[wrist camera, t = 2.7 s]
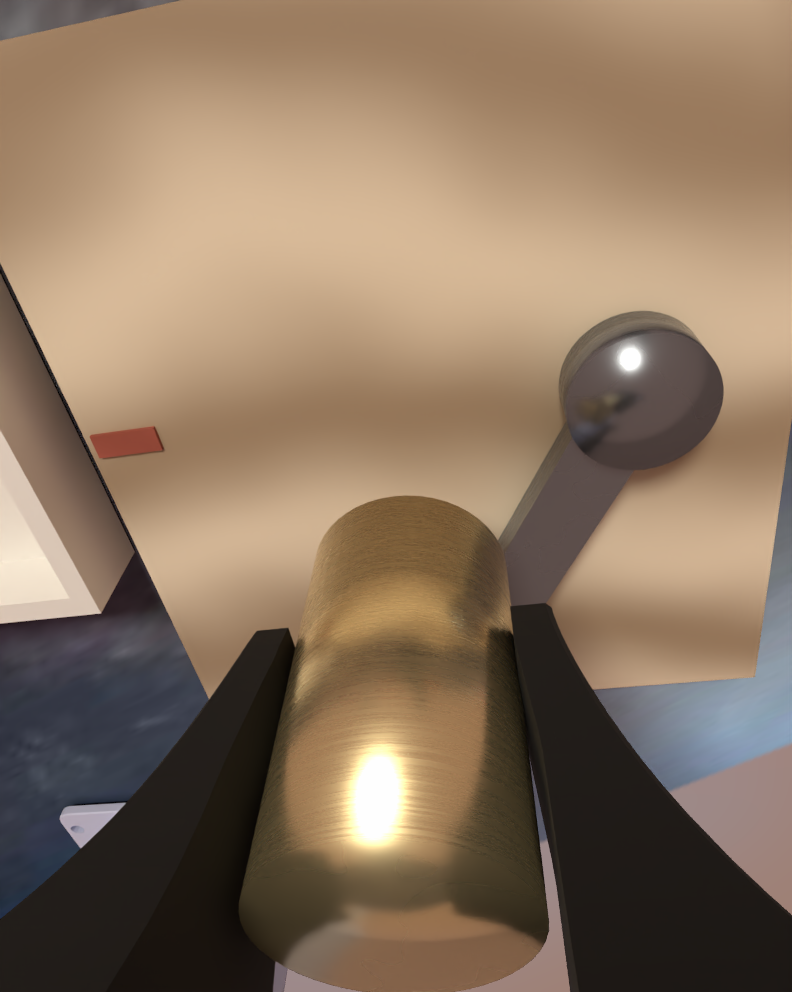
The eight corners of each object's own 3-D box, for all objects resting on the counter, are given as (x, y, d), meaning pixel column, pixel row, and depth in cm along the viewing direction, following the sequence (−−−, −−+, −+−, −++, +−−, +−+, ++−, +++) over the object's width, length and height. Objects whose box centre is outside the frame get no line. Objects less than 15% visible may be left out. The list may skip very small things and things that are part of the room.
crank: (579, 280, 14) (649, 425, 9) (756, 349, 15) (905, 518, 10) (372, 680, 21) (353, 881, 16) (499, 716, 22) (516, 920, 17)
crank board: (740, 645, 22) (756, 679, 21) (227, 688, 24) (217, 721, 23) (837, -143, 12) (876, -157, 11) (-58, 58, 14) (-100, 63, 13)
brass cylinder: (514, 634, 16) (557, 992, 10) (338, 650, 17) (284, 998, 11) (496, 483, 14) (537, 830, 8) (293, 508, 14) (196, 849, 9)
